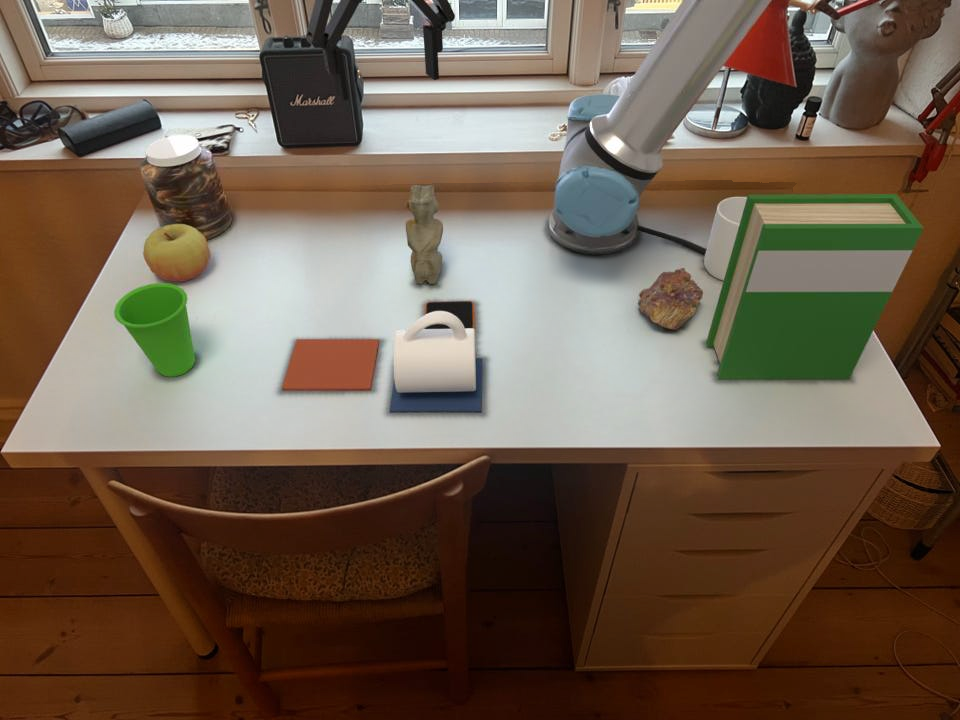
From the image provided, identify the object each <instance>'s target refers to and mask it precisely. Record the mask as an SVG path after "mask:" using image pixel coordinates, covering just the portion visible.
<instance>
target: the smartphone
mask: <svg viewBox="0 0 960 720" xmlns="http://www.w3.org/2000/svg"><path fill="white" fill-rule="evenodd" d="M434 311H445V312H449V313H451V314H453V315H455V316H456V317H457V318H458V319H459V320H460V321H461V322H462V324H463V325H464V328H473V329H474V330H475V331H476V327H475V325H476V312H475V302H473V301H472V300H454V301H453V300H452V301H427V302H426V303H425V305H424V315H426V314H428V313H431V312H434ZM424 329H451V328H450V327H449V326H447V325H444V324H433V325H430V326H428V327H426V328H424Z"/></svg>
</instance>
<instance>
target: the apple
mask: <svg viewBox="0 0 960 720" xmlns="http://www.w3.org/2000/svg"><path fill="white" fill-rule="evenodd" d="M142 255H143V258H144V261H145V263H146V265H147V267H148V268H149V270H150V271H151V272H152V273H153V274H154V275H156V276H157V277H160V278H161V279H163V280H166V281H169V282H170V281H171V282H174V283H175V282H177V283H178V282H186V281H189V280H193V279H194V278H196V277H199V275H201V274H202V273H203V272H204V271H205V270H206V269H207V268H208V263H209V261H210V257H211V250H210V247H209V243H208V241H207V240H206V238H205V236H204V235H202V234H201V233H200V232H199V231H198V230H196V229H195V228H193V227H191V226H188V225H185V224H172V225H166V226H164V227H158V228H156V229H155V230H153V231H152V232H151V233H149V235H148V236H147V237H146V239H145V241H144V244H143V252H142Z"/></svg>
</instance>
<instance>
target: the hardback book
mask: <svg viewBox="0 0 960 720" xmlns="http://www.w3.org/2000/svg"><path fill="white" fill-rule="evenodd" d="M746 197H747V200H746V204H745V207H744V211H743V214H742V218H741V221H740V225H739V228H738V232H737V235H736V239H735V243H734V246H733V250H732V253H731V257H730V260H729V264H728V267H727V271H726V275H725V278H724V281H723V282H722V285H721V289H720V293H719V296H718V300H717V302H716V306H715V310H714V315H713V317H712V321H711V324H710V328H709V331H708V335H707V339H706V343H705V344H706V347H707V349H708V348H709V349H710V348H713V349H714V350H715V353H716V356H717V359H718V362H719V366H718V368H717V372H716V377H717V380H721V381H722V380H723V381H724V380H730V381H731V380H740V381H741V380H749V381H750V380H758V381H759V380H763V381H764V380H765V381H766V380H768V381H769V380H770V381H771V380H772V381H773V380H775V381H776V380H779V381H780V380H782V381H783V380H787V381H788V380H793V381H794V380H798V381H799V380H804V381H805V380H808V381H809V380H812V381H813V380H815V381H816V380H817V381H818V380H820V381H821V380H823V381H824V380H826V381H827V380H830V381H832V380H833V381H834V380H839V381H840V380H843V381H844V380H846V381H847V380H849V381H850V378H851V376H852V374H853V372H854V370H855V369H856V367H857V365H858V362H859V360H860V359H861V356H862V355H863V352H864V350H865V349H866V347H867V344H868V342H869V340H870V339H871V336H872V334H873V332H874V330H875V328H876V326H877V324H878V322H879V320H880V317H881V316H882V314H883V311H884V309H885V308H886V307H887V303H888V301H889V299H890V297H891V295H892V293H893V292H894V289H895V287H896V286H897V283H898V281H899V280H900V277H901V275H902V274H903V271H904V269H905V267H906V265H907V263H908V261H909V259H910V257H911V256H912V253H913V250H914V249H915V247H916V244H917V242H918V240H919V239H920V237H921V235H922V232H923V230H924V226H923V225H922V224H921V223H920V221H919V220H918V219H917V218H916V216H915V215H914V214H913V213H912V212H911V211H910V209H909V208H908V207H907V206H906V204H905V203H904V202H903V201H902V199H901V198H900V197H899V196H898V194H897V193H860V194H859V193H852V194H851V193H847V194H845V193H844V194H843V193H841V194H839V193H838V194H837V193H831V194H830V193H827V194H823V193H822V194H817V193H815V194H808V193H807V194H747V196H746Z"/></svg>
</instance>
